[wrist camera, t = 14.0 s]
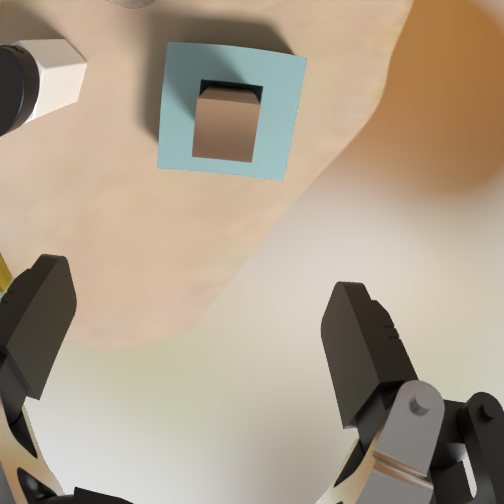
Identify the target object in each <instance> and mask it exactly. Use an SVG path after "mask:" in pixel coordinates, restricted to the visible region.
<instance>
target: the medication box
mask: <svg viewBox="0 0 504 504" xmlns="http://www.w3.org/2000/svg"><path fill="white" fill-rule="evenodd" d="M13 281H14V279H13V277H12V275H11V274H10V272H9V270H8V268H7V266H6V264H5V262H4V260H3V258H2V256H1V254H0V302H1V298H2V297H3V295H4V294H5V293H7V289H8V288H9V286H10V285H11V284H12V282H13Z"/></svg>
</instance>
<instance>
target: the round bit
mask: <svg viewBox="0 0 504 504" xmlns="http://www.w3.org/2000/svg"><path fill="white" fill-rule="evenodd" d="M107 1H110V2H113V3H115V4H118V5H120V6H123V7H126V8H131V9H136V8H142V7H145V6H147V5H149V4H151V3H153V2H154V1H155V0H107Z"/></svg>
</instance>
